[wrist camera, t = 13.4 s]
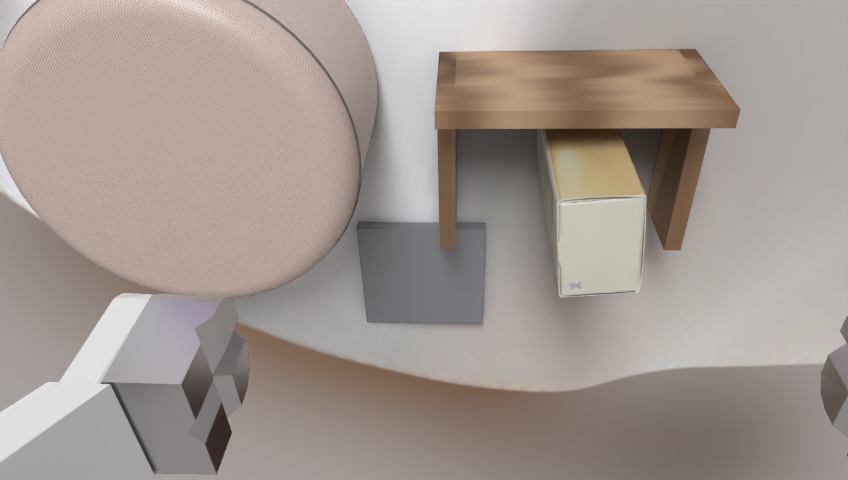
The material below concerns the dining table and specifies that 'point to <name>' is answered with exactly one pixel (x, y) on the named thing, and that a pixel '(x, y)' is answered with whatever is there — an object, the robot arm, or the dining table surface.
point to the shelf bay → (587, 113)
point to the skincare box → (592, 211)
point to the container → (190, 134)
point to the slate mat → (422, 273)
